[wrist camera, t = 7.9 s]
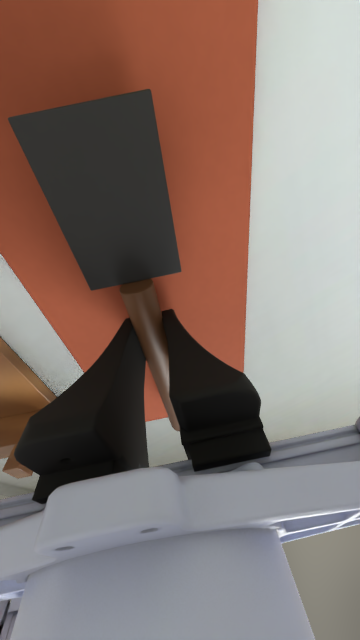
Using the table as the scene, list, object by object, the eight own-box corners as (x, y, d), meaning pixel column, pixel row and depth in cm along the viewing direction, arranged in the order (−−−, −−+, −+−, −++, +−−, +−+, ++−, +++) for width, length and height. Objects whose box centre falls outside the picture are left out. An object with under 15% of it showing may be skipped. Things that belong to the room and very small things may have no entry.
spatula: (204, 407, 18) (208, 425, 17) (154, 417, 18) (155, 436, 17) (150, 91, 7) (151, 74, 5) (14, 119, 7) (-18, 109, 5)
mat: (240, 398, 21) (242, 401, 20) (122, 422, 21) (122, 426, 20) (255, -52, 6) (261, -64, 6) (-147, 29, 6) (-163, 22, 6)
